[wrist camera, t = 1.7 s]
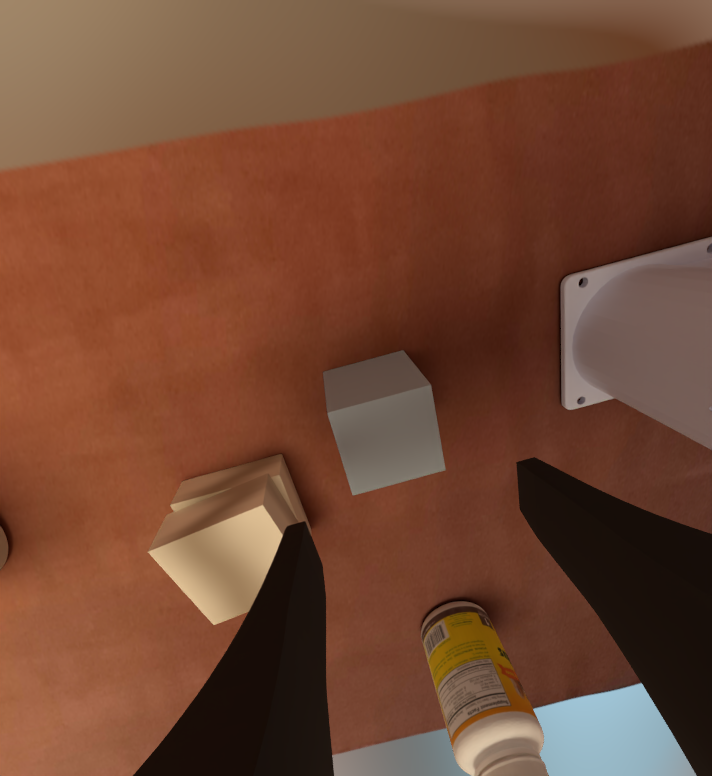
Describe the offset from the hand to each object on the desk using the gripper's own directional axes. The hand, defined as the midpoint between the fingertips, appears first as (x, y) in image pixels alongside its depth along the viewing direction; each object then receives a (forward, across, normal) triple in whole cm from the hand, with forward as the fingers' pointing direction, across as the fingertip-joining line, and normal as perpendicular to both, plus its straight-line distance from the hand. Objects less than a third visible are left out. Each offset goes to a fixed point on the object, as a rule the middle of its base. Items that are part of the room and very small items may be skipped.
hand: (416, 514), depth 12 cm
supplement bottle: (+10, -2, +21) cm, 23 cm away
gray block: (+10, 0, 0) cm, 10 cm away
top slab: (+7, +9, +5) cm, 13 cm away
